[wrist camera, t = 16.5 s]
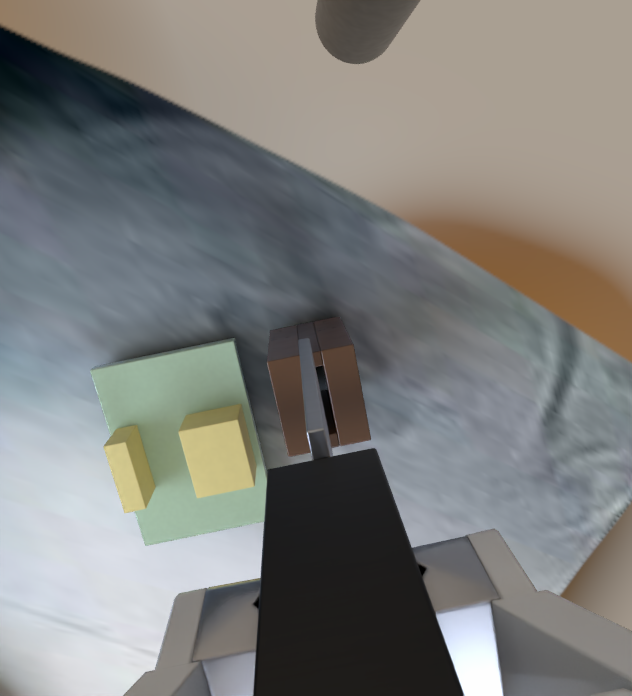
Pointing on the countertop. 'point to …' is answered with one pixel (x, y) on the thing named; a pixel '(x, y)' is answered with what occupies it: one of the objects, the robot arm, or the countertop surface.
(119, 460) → the butter slice
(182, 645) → the robot arm
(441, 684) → the knife
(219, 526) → the butter dish
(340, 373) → the knife block
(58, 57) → the countertop surface
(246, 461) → the butter block
